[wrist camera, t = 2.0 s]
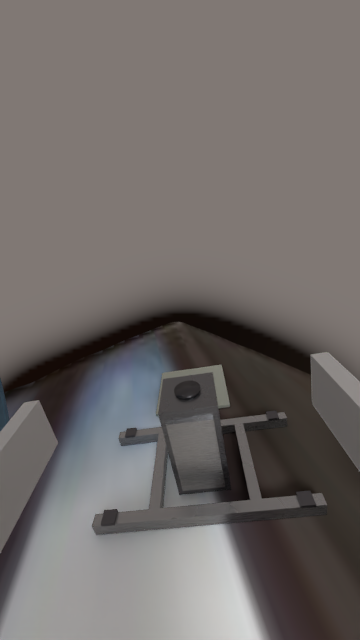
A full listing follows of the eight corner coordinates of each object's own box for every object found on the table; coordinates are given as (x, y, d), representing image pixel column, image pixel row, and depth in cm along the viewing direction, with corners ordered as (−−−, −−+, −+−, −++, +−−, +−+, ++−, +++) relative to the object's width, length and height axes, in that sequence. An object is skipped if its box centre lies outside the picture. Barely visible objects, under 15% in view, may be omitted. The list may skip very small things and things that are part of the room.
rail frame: (95, 536, 25) (90, 525, 24) (122, 438, 35) (119, 429, 35) (327, 515, 23) (327, 503, 22) (284, 419, 33) (283, 409, 33)
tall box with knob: (179, 498, 27) (156, 413, 23) (180, 449, 32) (162, 374, 28) (231, 493, 26) (217, 406, 22) (224, 444, 32) (212, 367, 28)
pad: (156, 416, 38) (156, 413, 38) (162, 375, 47) (162, 373, 47) (230, 406, 37) (229, 404, 37) (221, 366, 46) (221, 364, 46)
